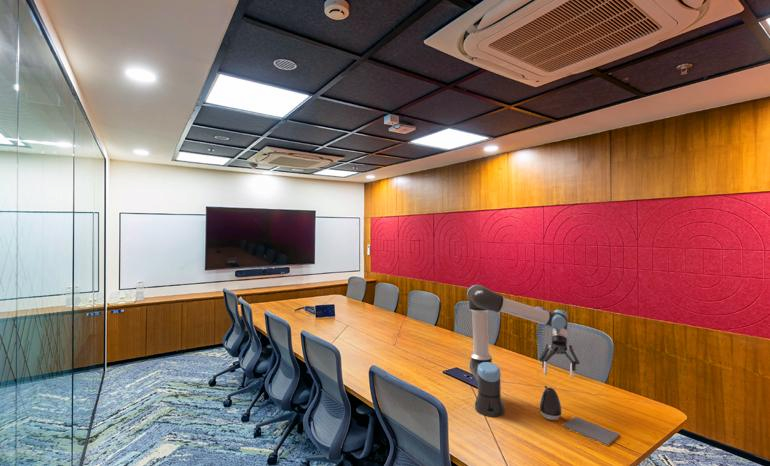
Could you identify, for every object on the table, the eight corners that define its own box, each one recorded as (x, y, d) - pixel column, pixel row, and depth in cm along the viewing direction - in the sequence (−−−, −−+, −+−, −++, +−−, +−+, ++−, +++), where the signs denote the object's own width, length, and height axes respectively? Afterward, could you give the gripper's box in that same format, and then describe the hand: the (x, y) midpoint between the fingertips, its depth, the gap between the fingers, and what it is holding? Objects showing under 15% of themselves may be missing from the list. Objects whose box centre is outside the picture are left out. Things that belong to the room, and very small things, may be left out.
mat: (607, 446, 155) (607, 444, 155) (562, 426, 172) (562, 424, 172) (619, 436, 163) (619, 434, 163) (575, 418, 179) (575, 416, 179)
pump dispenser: (555, 412, 185) (554, 383, 186) (565, 422, 175) (565, 392, 175) (536, 412, 185) (535, 383, 185) (545, 423, 175) (545, 392, 175)
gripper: (586, 340, 192) (586, 380, 181) (539, 339, 209) (537, 375, 198) (581, 334, 188) (581, 375, 177) (534, 334, 205) (531, 370, 194)
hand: (558, 375), depth 188 cm, fingers open, 13 cm apart
